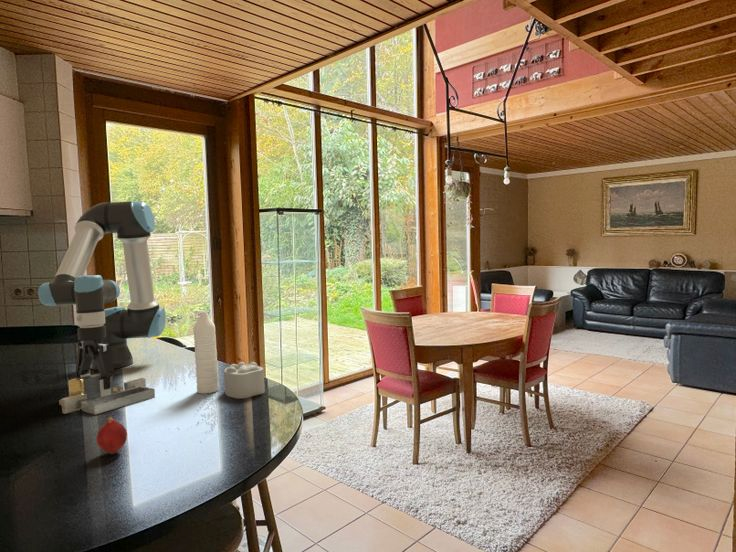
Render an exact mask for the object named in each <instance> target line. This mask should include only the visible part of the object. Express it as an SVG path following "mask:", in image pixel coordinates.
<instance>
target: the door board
mask: <svg viewBox="0 0 736 552" xmlns="http://www.w3.org/2000/svg"><path fill="white" fill-rule="evenodd" d="M113 390H114V393H113V394H109V395H106V396H102V397H98V398H95V399H91V400H87V394H85V393H82V394H78V395H74V396H66V397H63V398H60V400H58V403H59V404H58V405H61V406H60V407H61V412H62V413H61V414H64V415H65V414H70V413H74V412H77V411H80V409H81V411H82V412H84V413H88V414H92V415H95V416H97V415H99V414H104V413H105V412H106V413H107V412H108V411H113V410H116V409H119V408H122V407H126V406H129V405H133V404H136V403H139V402H142V401H146V400H149V399H152V398H153V399H154V398H156V395H155V392H156V390H155V388H153V387H147V385H146V378H144V377H141V378H138V379H133V380H130V381H124V382H123V387H121V386H116V385H113ZM116 392H117V393H116Z"/></svg>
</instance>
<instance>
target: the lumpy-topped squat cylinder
mask: <svg viewBox="0 0 736 552" xmlns="http://www.w3.org/2000/svg"><path fill="white" fill-rule="evenodd" d="M223 370H224V371H223V377H224V378H223V379H224V393H225V395H226V396H227V397H230V398H232V399H239V400H240V399H247V398H250V397H255V396H258V395H262V394H264V393H265V392H266V390H265V389H266V388H265V387H266V386H265V371H264V370H265V369H264V367H261V366H259V365H258V363H257V362H255V361H251V362H249V363H248V364H246V362H244V361H240V362H238V363H236V364H235V363H231V364H230V366H227V367H226V368H225V369H223Z"/></svg>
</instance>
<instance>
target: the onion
mask: <svg viewBox="0 0 736 552" xmlns="http://www.w3.org/2000/svg"><path fill="white" fill-rule="evenodd" d="M127 438H128V433H127V429H126V427H125V426H124V425H123V424H122V423H120V422H119V421H117V420H115V419H114V418H112V417H108V418H107V420H106V423H104V424H103V425H102V426H101V427H100V429H99V430H98V432H97V435H96V444H97V446H98V447H99V448H100V449H101V451H102V450H103V451H104V452H107V453H108V454H110V455H115V454H116V453H117V452H119V450H121V449H122V448H123V446H124V445H125V444H126V441H127Z"/></svg>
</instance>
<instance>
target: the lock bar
mask: <svg viewBox="0 0 736 552" xmlns="http://www.w3.org/2000/svg"><path fill="white" fill-rule="evenodd" d="M100 377H101V376H100V373H99V372H98V373H94V374H91V375H90V376H85V377H81V376H80V377H77V378H76V377H75V378H73V379H72V378H71V379H69V380H68V382H67V383H68V392H69V394H68V395H69V396H68V397H70V396H74V395H78V394H82V393H85V394H87V400H91V399H95V398H98V397H101V393H100V380H99V378H100ZM110 386H111V394H113V393H115V392H114V390H113V386H114V376H112V377H111V378H110Z"/></svg>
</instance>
